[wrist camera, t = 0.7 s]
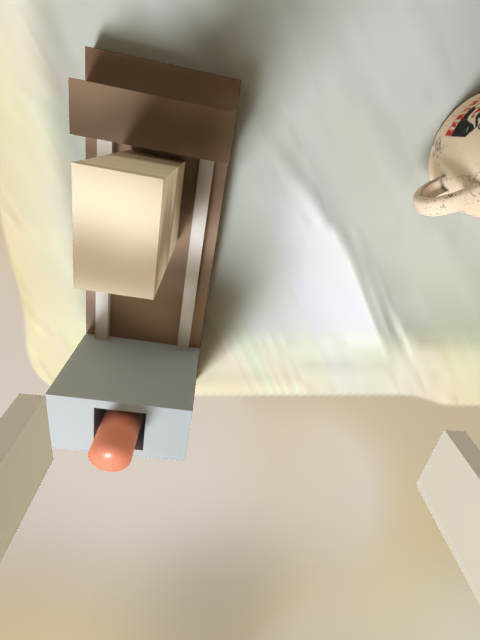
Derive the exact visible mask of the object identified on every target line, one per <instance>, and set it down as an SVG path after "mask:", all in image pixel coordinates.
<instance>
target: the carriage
mask: <svg viewBox="0 0 480 640" xmlns="http://www.w3.org/2000/svg"><path fill="white" fill-rule="evenodd" d="M185 163H186V161H185V160H180V159H175V158H170V157H164V156H159V155H154V154H149V153H143V152H138V151H133V150H125V151H120V152H116V153H112V154H107V155H103V156H98V157H94V158H89V159H85V160H81V161H76V162H72V163H71V165H72V217H73V268H74V288H76V289H82V290H89V291H96V292H103V293H110V294H116V295H123V296H130V297H137V298H144V299H150V300H154V297H155V295H156V292H157V290H158V287H159V285H160V283H161V280H162V278H163V275H164V273H165V270H166V268H167V266H168V263H169V261H170V258H171V256H172V253H173V251H174V249H175V246H176V244H177V238H178V229H179V219H180V210H181V201H182V191H183V182H184V173H185Z"/></svg>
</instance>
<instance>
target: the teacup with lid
mask: <svg viewBox="0 0 480 640" xmlns="http://www.w3.org/2000/svg"><path fill="white" fill-rule="evenodd" d="M428 170H429V179H430V181H429V182H427V183H426V184H424V185H423V186H421V187H420V188H419V189H418V190H417V191H416V192H415V194H414V197H413V201H414V206H415V209H416V210H417V212H419V213H420V214H422V215H426V216H440V215H446V214H450V213H454V212H457V211H461V212H463V213H466V214H469V215H472V216H475V217H478V218H480V93H479V94H477V95H475V96H473V97H471V98H470V99H468V100H467V101H465V102H464V103H463V104H461V105H460V106H459V107H458V108H457V109H456V110H455V111H454V112H453V113H452V114H451V115H450V116H449V117H448V118H447V120H446V121H445V122H444V124H443V125H442V126H441V128H440V130H439V131H438V133H437V135H436V137H435V140H434V142H433V145H432V148H431V151H430V156H429V165H428Z"/></svg>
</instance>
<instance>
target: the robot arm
mask: <svg viewBox="0 0 480 640" xmlns="http://www.w3.org/2000/svg"><path fill="white" fill-rule="evenodd" d="M52 461H53V454H52V446H51V438H50V430H49V421H48V413H47V405H46V397H45V396H41V395H29V394H19V395H18V396H17V398H16V399H15V400H14V401H13V403H12V404H11V405H10V407H9V408H8V409H7V411H6V412H5V413H4V415H3V416H2V417H1V418H0V562H1V560H2V558H3V555H4V554H5V552H6V550H7V548H8V546H9V544H10V542H11V540H12V538H13V536H14V534H15V533H16V531H17V529H18V527H19V525H20V523H21V521H22V519H23V517H24V515H25V513H26V511H27V509H28V507H29V505H30V503H31V501H32V499H33V498H34V496H35V494H36V492H37V490H38V488H39V486H40V484H41V482H42V480H43V478H44V476H45V474H46V472H47V470H48V468H49V466H50V465H51V463H52ZM416 486H417V488H418V490H419V492H420V493H421V495H422V497H423V499H424V501H425V503H426V505H427V507H428V508H429V510H430V512H431V514H432V516H433V518H434V520H435V522H436V524H437V526H438V527H439V529H440V531H441V533H442V535H443V537H444V539H445V541H446V543H447V544H448V546H449V548H450V550H451V552H452V554H453V556H454V558H455V559H456V561H457V563H458V565H459V567H460V569H461V571H462V573H463V575H464V577H465V579H466V580H467V582H468V584H469V586H470V588H471V590H472V592H473V594H474V596H475V597H476V599H477V601H478V603H479V605H480V450H479V449H478V447H477V446H476V445H475V444H474V442H473V441H472V440H471V438H470V437H469V436H468V435H467V433H466V432H462V431H449V430H444V432H443V434H442V436H441V438H440V440H439V442H438V443H437V445H436V447H435V449H434V451H433V453H432V455H431V457H430V459H429V461H428V463H427V465H426V467H425V468H424V471H423V472H422V474H421V476H420V478H419V480H418V482H417V484H416Z"/></svg>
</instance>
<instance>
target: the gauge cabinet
mask: <svg viewBox="0 0 480 640" xmlns="http://www.w3.org/2000/svg"><path fill="white" fill-rule="evenodd" d="M199 349H200V348H193V347H188V352H187V351H180V350H177V345H171V344H163V343H156V342H148V341H141V340H133V339H126V338H119V337H111V336H110V337H109V338H108V340H107V341H104V340H97V339H95V334H89V333H86V335H85V336H84V337H83V339H82V340H81V342H80V343H79V345H78V346H77V348H76V349H75V351H74V352H73V354H72V355H71V357H70V358H69V360H68V361H67V363H66V364H65V366H64V367H63V369H62V370H61V372H60V373H59V375H58V376H57V378H56V379H55V381H54V382H53V384H52V385H51V387H50V388H49V390H48V391H47V393H46V405H47V413H48V421H49V430H50V438H51V446H52V448H55V449H65V450H75V451H85V452H89V449H90V447H91V445H92V442H93V440H94V438H95V435H96V433H97V430H98V428H99V426H100V423H101V421H102V418H103V416H104V414H105V411H106V409H110V410H119V411H128V412H137V413H142V414H143V420H142V424H141V427H140V431H139V434H138V438H137V441H136V445H135V449H134V452H133V456H136V457H146V458H156V459H167V460H176V461H185V456H186V448H187V443H188V436H189V430H190V424H191V418H192V411H193V402H194V394H195V385H196V376H197V367H198V358H199Z"/></svg>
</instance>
